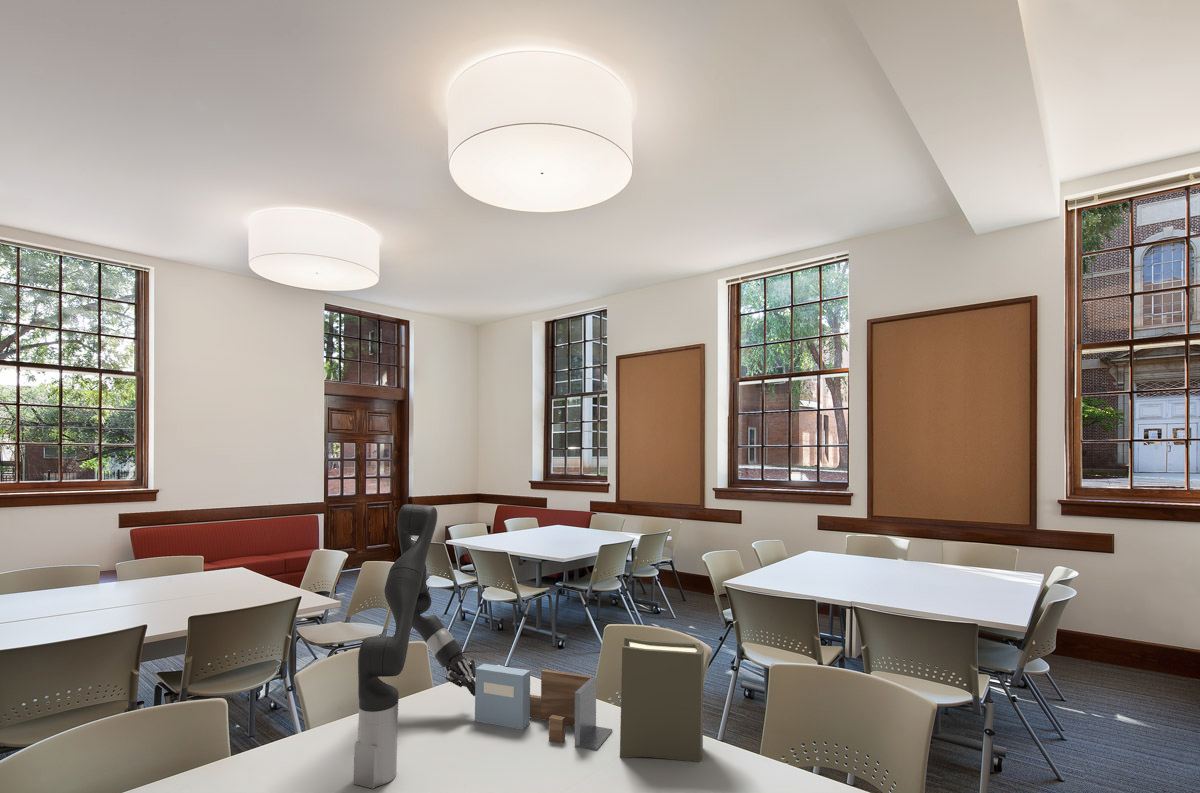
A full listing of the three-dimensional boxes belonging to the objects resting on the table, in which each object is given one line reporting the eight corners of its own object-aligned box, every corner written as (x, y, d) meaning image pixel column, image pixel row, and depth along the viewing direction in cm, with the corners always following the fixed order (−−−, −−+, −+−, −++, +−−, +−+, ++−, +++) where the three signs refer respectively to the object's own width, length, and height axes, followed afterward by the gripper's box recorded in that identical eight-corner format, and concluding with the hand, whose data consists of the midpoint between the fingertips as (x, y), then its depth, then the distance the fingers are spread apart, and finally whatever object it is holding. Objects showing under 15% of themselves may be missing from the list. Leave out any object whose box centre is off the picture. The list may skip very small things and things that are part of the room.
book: (701, 747, 165) (702, 641, 168) (703, 764, 156) (704, 652, 158) (622, 740, 168) (624, 636, 170) (619, 757, 158) (622, 647, 161)
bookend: (596, 750, 162) (596, 696, 163) (574, 746, 164) (574, 692, 166) (612, 731, 173) (612, 680, 174) (591, 727, 176) (591, 677, 177)
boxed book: (522, 729, 174) (522, 675, 176) (474, 721, 180) (475, 668, 181) (529, 723, 179) (530, 670, 180) (482, 714, 184) (483, 663, 186)
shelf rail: (575, 745, 165) (575, 691, 166) (483, 728, 175) (484, 677, 177) (592, 726, 176) (592, 676, 178) (505, 710, 187) (505, 663, 188)
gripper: (438, 645, 182) (473, 693, 176) (463, 633, 194) (496, 678, 188) (423, 661, 183) (457, 710, 178) (449, 648, 195) (481, 693, 190)
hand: (477, 693), depth 183 cm, fingers closed
